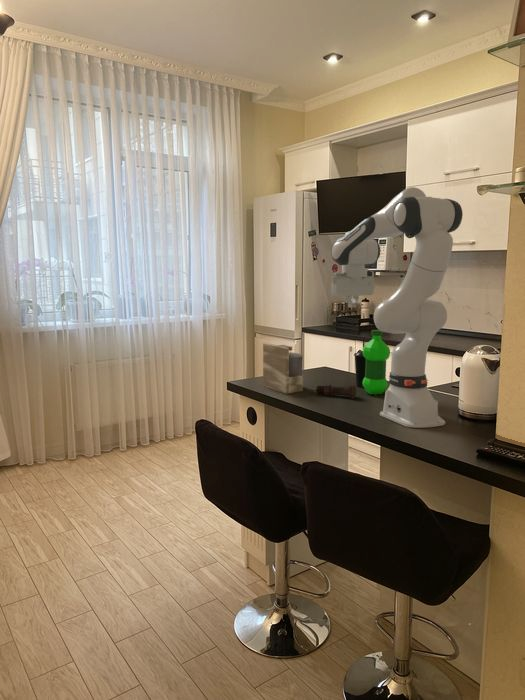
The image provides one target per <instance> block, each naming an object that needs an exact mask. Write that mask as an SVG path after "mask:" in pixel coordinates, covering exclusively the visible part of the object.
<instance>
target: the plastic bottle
mask: <svg viewBox="0 0 525 700" xmlns="http://www.w3.org/2000/svg"><path fill="white" fill-rule="evenodd" d="M383 334H384V332H382V331H380V330H379V329H372V330H371V336H372V339H370V340H369V341H367V343H366V344H365V346H364V347H363V346H362V351H363V356H364V357H365V358H366V368H365V378H364V379H363V387H364V388H363V389H364V390H365V391H366V392H367V394H368V393H369V394H368V395H371V394H375V395H374V396H377V395H376V394H380V395H382V394H383V393H385V392H386V390H387V389H388V388H389V382H388V381H387V378H386V376H387V375H386V374H387V360H388V359H389V358H390V354H391V349H390V346H388V344H386V343H385V342H384V341H383V340H382V336H383Z"/></svg>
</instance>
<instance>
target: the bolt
mask: <svg viewBox="0 0 525 700" xmlns="http://www.w3.org/2000/svg"><path fill="white" fill-rule="evenodd" d="M315 393H316V394H318V395H320V394H321V395H324V396H325V397H330V396H332V395H333V396H346V397H349V399H350V398H351V399H352V400H354V399H355V398H356V396H357V386H356V385H355V384H350V385H349V386H346V387H345V386H332V385H331V384H330V383H329V384H328V383H327V384H324V385H317V386H316V389H315ZM353 398H354V399H353ZM351 399H350V400H351Z"/></svg>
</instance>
